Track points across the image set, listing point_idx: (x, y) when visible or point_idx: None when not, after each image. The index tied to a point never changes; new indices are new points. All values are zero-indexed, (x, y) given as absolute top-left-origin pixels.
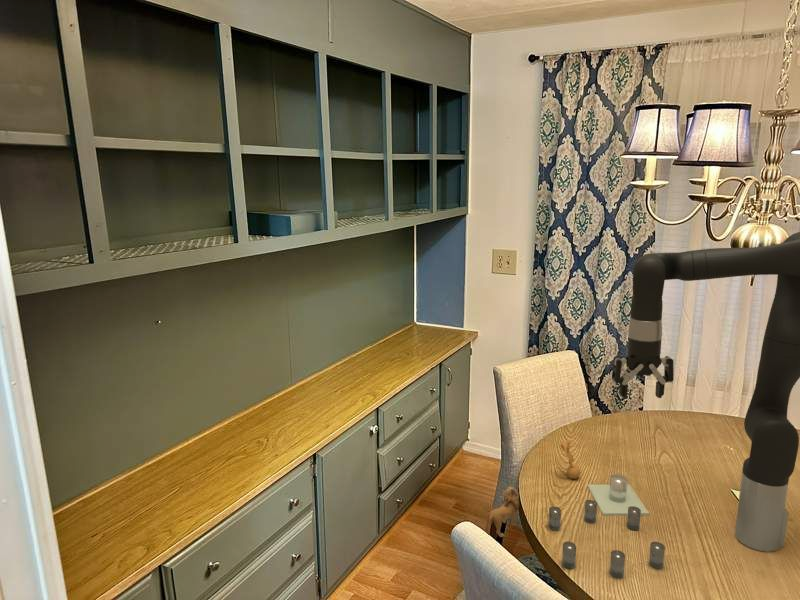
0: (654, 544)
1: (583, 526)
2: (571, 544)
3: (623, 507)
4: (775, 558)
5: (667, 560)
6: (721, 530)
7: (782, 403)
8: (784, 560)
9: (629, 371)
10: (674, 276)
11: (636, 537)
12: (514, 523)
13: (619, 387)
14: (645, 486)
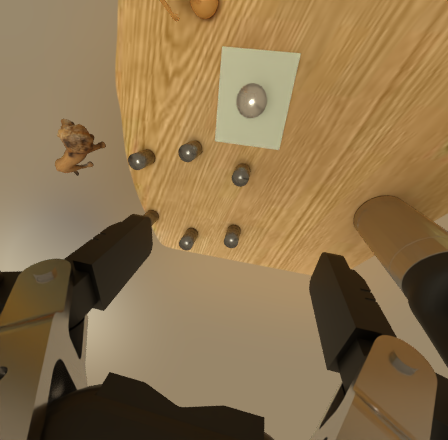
0: (228, 239)
1: None
2: None
3: (250, 130)
4: (366, 244)
5: (249, 226)
6: (352, 194)
7: None
8: None
9: (32, 373)
10: None
11: (236, 189)
12: (101, 147)
13: (84, 247)
14: (331, 57)
